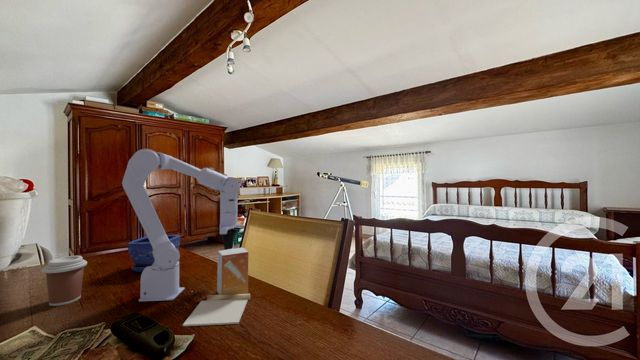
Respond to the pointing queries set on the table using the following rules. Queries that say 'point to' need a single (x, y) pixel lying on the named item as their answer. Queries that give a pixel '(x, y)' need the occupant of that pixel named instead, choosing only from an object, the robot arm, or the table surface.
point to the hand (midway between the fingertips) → (228, 250)
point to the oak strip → (228, 297)
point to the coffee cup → (64, 279)
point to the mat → (217, 312)
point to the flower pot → (146, 252)
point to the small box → (232, 271)
